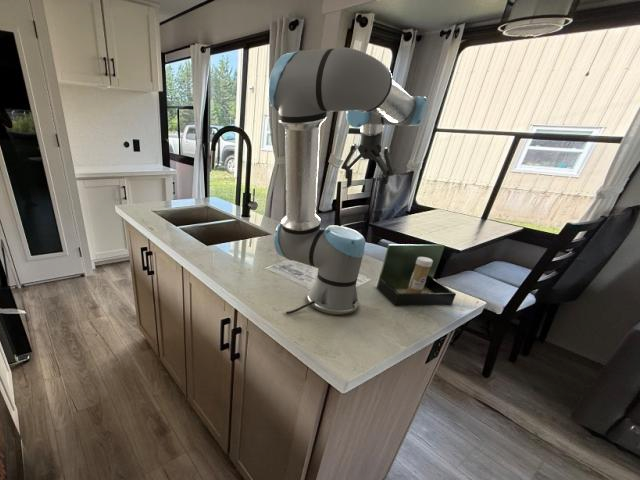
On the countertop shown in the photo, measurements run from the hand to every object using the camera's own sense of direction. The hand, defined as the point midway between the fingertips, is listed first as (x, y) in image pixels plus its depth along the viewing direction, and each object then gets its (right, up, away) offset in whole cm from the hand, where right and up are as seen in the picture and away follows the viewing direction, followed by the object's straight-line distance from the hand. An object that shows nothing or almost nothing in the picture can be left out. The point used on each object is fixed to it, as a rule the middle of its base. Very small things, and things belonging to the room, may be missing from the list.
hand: (365, 188), depth 131 cm
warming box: (+8, -43, -21) cm, 49 cm away
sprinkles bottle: (+8, -43, -21) cm, 49 cm away
